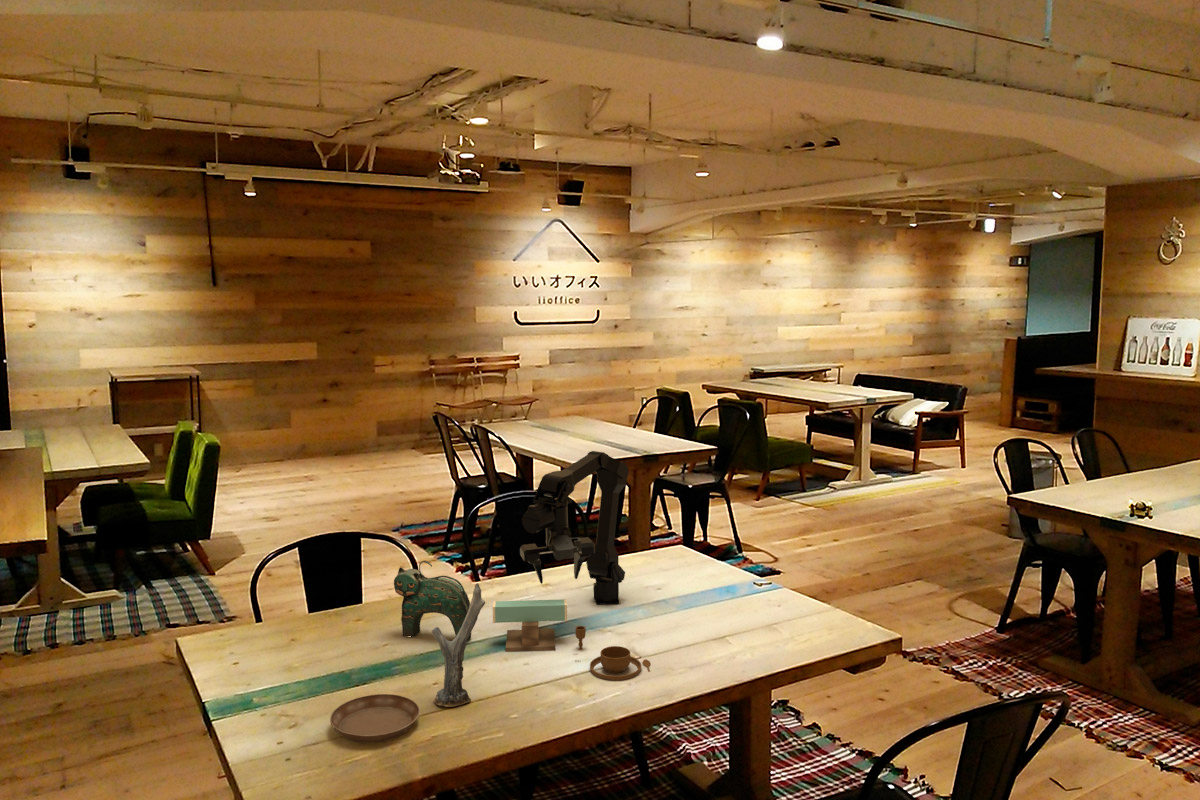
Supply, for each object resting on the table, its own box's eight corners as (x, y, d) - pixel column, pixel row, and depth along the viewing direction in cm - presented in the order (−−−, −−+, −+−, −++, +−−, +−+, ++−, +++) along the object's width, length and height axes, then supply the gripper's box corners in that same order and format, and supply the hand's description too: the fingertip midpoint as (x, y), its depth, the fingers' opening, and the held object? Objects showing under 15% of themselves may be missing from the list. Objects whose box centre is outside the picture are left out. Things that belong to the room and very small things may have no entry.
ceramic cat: (394, 637, 232) (391, 561, 229) (406, 627, 238) (404, 553, 235) (466, 646, 226) (463, 568, 223) (477, 636, 232) (475, 560, 229)
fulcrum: (554, 632, 234) (554, 609, 233) (555, 650, 223) (554, 626, 222) (507, 633, 233) (506, 611, 233) (505, 651, 223) (505, 628, 222)
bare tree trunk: (439, 711, 193) (436, 597, 189) (428, 696, 200) (424, 586, 196) (491, 699, 198) (488, 588, 194) (478, 685, 205) (475, 577, 201)
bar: (492, 623, 225) (492, 607, 224) (493, 616, 229) (493, 601, 229) (567, 620, 226) (567, 605, 226) (566, 614, 230) (566, 599, 230)
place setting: (578, 685, 206) (578, 660, 205) (572, 648, 226) (572, 625, 225) (656, 681, 208) (656, 656, 207) (642, 645, 227) (642, 622, 226)
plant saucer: (426, 705, 196) (426, 692, 196) (411, 748, 179) (411, 734, 178) (343, 707, 196) (342, 693, 195) (320, 750, 178) (319, 735, 178)
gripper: (527, 536, 225) (530, 596, 227) (600, 527, 230) (602, 587, 233) (518, 523, 235) (520, 581, 238) (588, 515, 240) (590, 572, 243)
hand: (558, 580), depth 238 cm, fingers open, 9 cm apart
